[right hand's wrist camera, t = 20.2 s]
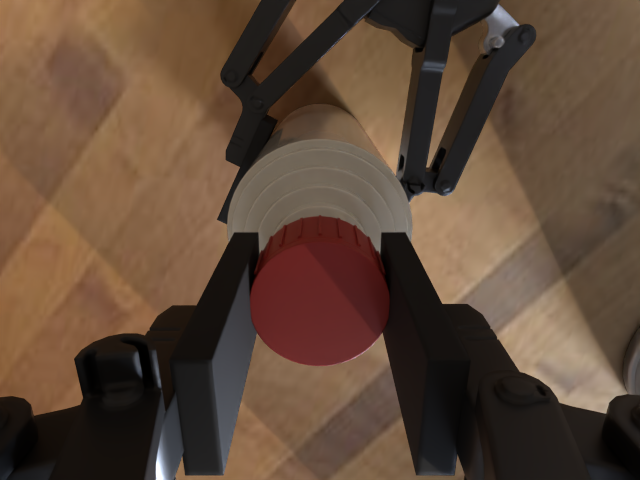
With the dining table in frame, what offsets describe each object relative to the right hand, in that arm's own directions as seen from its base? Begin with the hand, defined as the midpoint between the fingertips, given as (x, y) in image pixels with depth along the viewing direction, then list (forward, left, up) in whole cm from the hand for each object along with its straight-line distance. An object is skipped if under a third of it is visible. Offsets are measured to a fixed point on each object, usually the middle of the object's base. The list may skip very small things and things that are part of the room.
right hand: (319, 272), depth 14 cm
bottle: (0, 0, -20) cm, 20 cm away
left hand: (-3, +4, -14) cm, 15 cm away
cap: (0, 0, +2) cm, 2 cm away
